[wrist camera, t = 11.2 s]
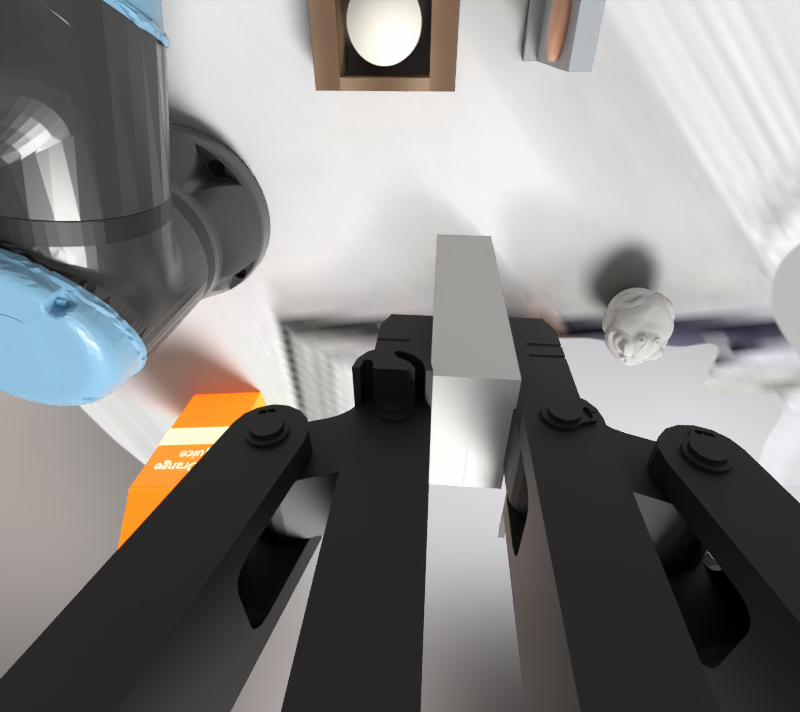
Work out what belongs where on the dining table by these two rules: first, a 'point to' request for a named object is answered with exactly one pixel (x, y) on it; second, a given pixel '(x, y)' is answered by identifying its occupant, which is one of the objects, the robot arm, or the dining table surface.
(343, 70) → the button board
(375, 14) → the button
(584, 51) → the pattern panel
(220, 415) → the orange juice
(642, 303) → the white rounded lump
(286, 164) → the dining table surface
